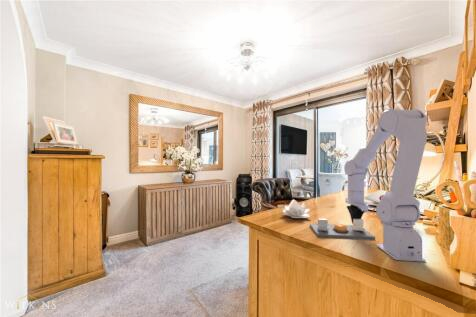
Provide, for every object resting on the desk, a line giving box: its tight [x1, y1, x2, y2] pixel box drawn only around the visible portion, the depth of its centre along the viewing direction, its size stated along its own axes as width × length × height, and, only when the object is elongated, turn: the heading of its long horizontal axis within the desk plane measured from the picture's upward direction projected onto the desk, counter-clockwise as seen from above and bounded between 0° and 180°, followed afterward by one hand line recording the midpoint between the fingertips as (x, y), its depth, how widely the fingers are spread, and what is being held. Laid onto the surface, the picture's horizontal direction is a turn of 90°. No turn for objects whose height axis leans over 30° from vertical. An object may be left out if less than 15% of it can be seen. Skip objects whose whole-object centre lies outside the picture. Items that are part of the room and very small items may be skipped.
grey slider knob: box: [317, 218, 329, 231], centre depth 76 cm, size 2×4×4 cm, turn 83°
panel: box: [309, 223, 376, 240], centre depth 77 cm, size 12×20×1 cm, turn 83°
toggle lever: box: [352, 218, 366, 231], centre depth 77 cm, size 2×4×4 cm, turn 83°
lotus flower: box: [282, 199, 311, 219], centre depth 98 cm, size 14×15×9 cm
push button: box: [333, 223, 347, 232], centre depth 76 cm, size 4×4×2 cm
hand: (355, 224), depth 79 cm, fingers closed
